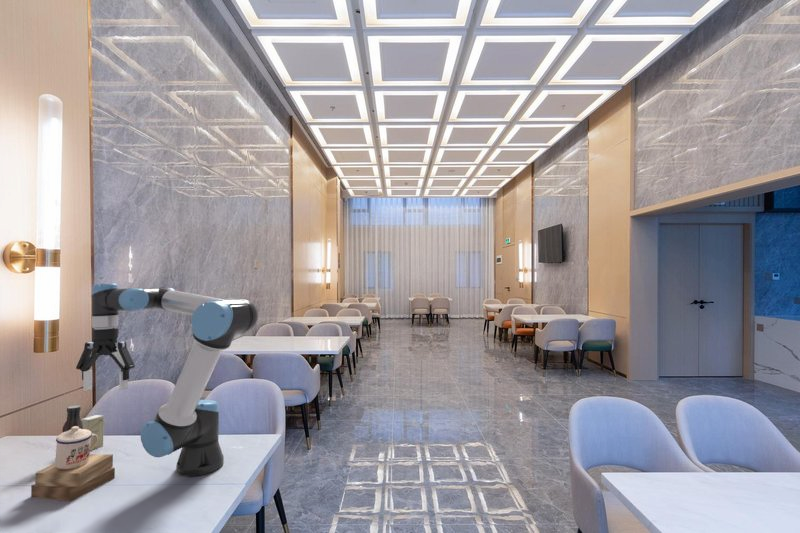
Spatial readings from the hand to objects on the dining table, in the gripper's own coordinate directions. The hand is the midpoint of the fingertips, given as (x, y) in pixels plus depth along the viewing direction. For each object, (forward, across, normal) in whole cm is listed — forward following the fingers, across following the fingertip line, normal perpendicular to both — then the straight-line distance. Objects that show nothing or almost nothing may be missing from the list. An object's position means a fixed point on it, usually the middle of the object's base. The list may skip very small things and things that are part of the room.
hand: (105, 389), depth 145 cm
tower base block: (+29, +3, +9) cm, 31 cm away
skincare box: (+28, +24, -20) cm, 42 cm away
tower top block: (+25, +2, +9) cm, 27 cm away
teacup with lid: (+21, +2, +9) cm, 23 cm away
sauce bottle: (+28, +21, -8) cm, 36 cm away
